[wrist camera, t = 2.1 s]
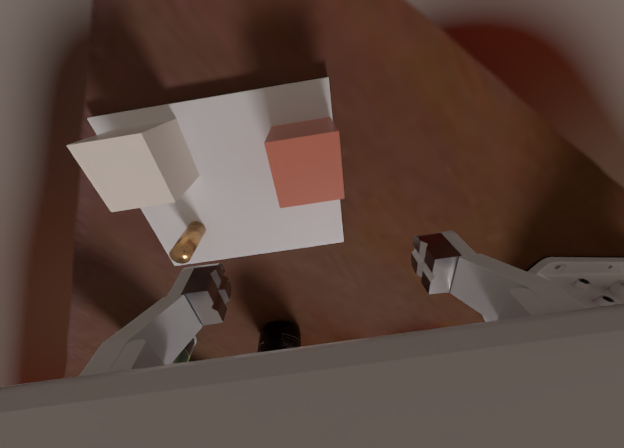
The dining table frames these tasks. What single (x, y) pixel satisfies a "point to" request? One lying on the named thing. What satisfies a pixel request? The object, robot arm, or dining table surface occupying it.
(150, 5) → the dining table surface
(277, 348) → the supplement bottle
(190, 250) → the bronze cylinder
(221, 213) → the plate
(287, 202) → the salmon red cube
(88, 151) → the pale grey cube
